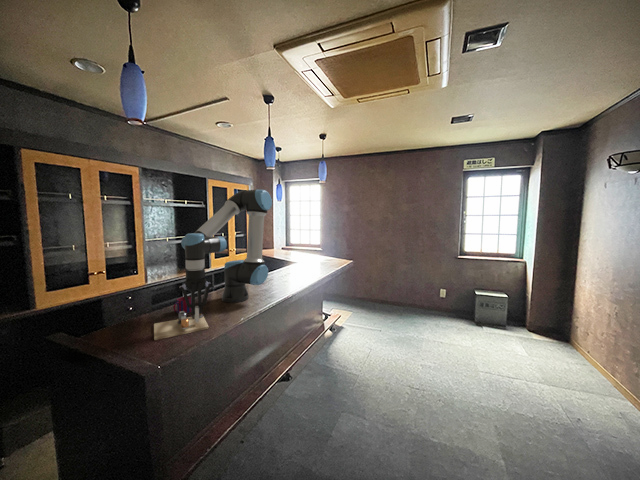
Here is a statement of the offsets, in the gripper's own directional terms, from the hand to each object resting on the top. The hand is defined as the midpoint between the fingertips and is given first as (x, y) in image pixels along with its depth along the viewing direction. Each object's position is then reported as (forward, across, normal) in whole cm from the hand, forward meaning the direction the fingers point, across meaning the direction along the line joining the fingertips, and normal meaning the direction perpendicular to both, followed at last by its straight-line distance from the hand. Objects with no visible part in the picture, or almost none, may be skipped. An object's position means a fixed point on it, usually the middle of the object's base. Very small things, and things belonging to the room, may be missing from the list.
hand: (196, 321), depth 112 cm
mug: (+3, +4, -23) cm, 23 cm away
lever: (+1, +5, -4) cm, 6 cm away
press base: (+3, +6, -4) cm, 7 cm away
